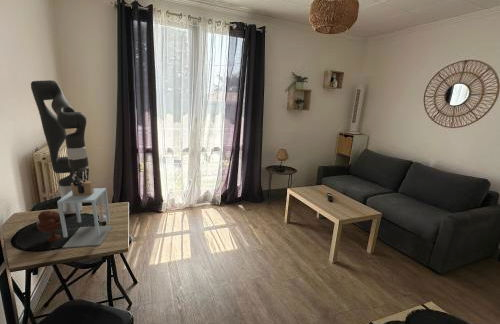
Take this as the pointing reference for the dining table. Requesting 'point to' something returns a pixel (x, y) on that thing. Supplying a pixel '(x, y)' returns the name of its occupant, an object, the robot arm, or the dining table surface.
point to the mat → (88, 237)
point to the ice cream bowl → (49, 224)
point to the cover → (87, 196)
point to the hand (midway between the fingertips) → (83, 191)
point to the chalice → (100, 203)
